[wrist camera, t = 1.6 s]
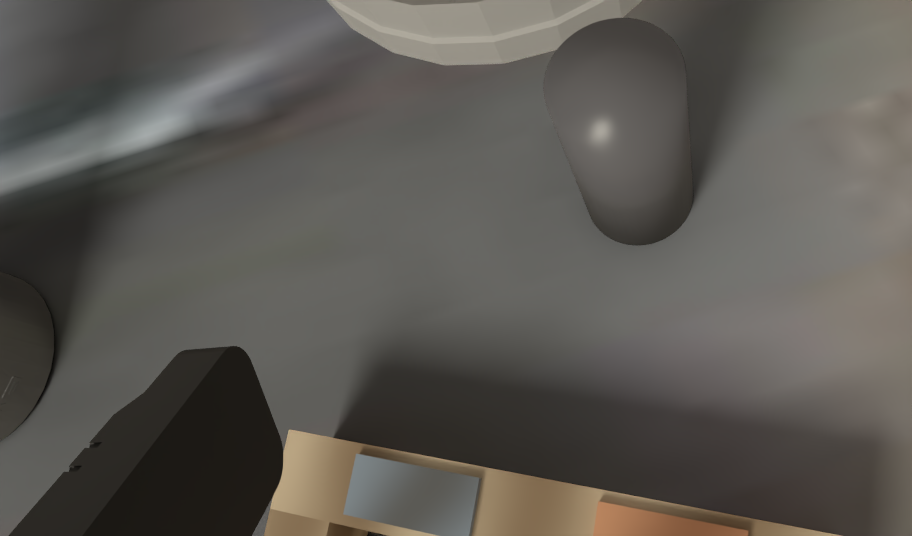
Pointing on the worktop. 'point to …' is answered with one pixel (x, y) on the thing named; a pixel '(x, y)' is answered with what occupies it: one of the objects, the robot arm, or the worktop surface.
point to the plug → (624, 126)
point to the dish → (474, 26)
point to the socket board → (466, 500)
